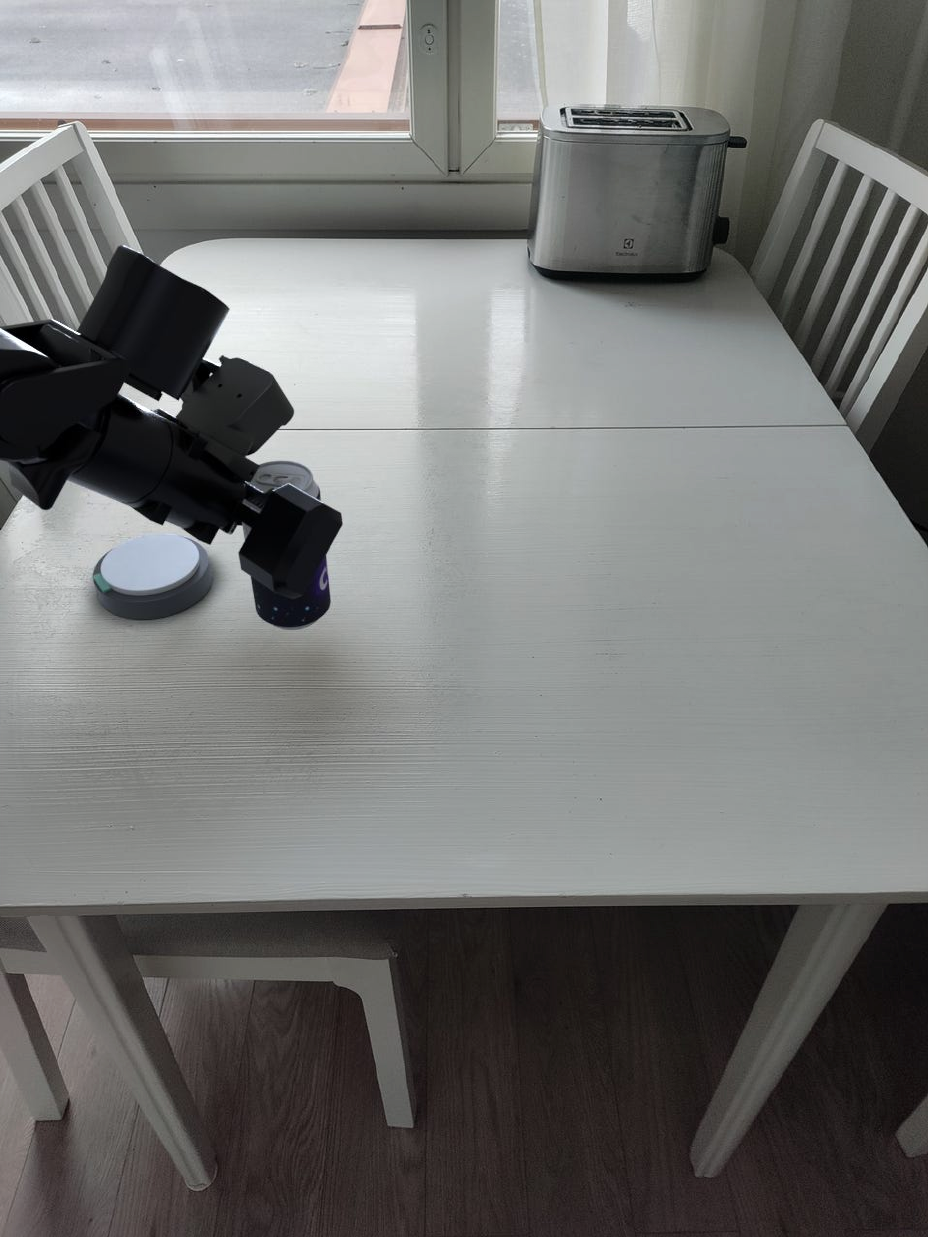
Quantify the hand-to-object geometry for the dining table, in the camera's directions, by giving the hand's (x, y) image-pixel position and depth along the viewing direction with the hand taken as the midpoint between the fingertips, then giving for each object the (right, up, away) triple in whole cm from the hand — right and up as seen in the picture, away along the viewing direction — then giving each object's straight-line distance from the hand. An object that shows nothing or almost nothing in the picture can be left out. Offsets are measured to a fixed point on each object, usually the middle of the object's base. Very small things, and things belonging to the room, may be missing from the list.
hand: (300, 535), depth 70 cm
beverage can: (-1, -6, +4) cm, 7 cm away
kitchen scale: (-16, -3, +15) cm, 22 cm away
